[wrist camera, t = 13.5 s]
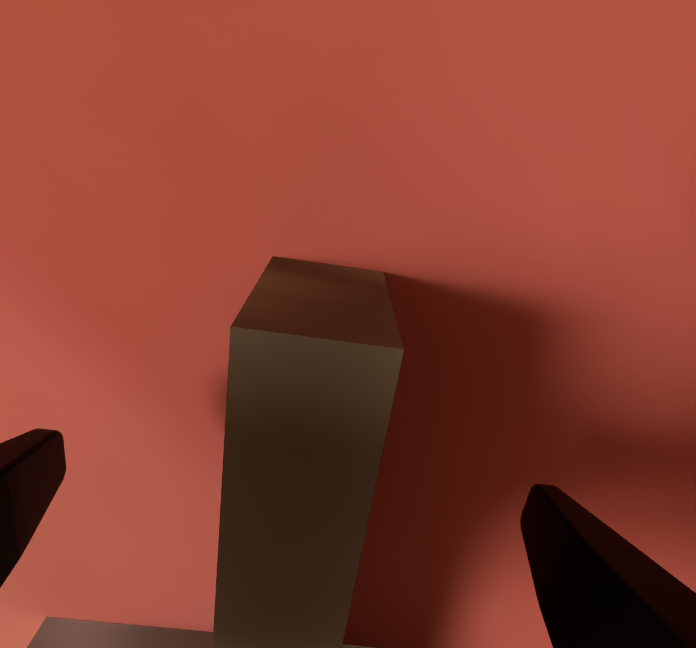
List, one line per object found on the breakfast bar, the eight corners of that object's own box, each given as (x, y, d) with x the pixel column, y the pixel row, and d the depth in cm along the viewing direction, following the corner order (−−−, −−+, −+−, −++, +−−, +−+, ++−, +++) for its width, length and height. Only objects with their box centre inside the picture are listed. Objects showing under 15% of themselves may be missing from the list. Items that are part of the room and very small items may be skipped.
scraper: (52, 649, 15) (-45, 820, 11) (-6, 216, 10) (-221, 267, 6) (485, 688, 16) (528, 860, 12) (637, 307, 11) (795, 400, 7)
